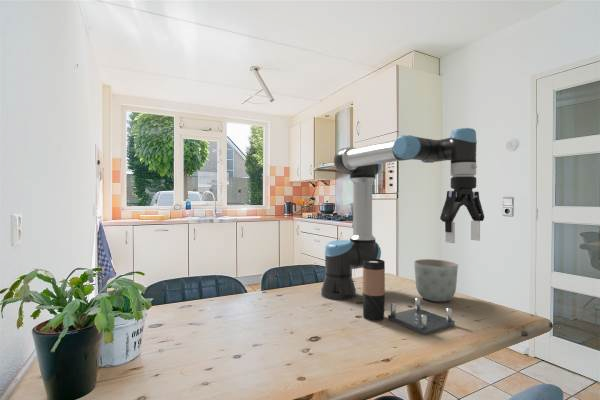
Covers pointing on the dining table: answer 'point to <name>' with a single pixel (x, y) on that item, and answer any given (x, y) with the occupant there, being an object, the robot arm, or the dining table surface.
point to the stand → (421, 319)
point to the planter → (436, 279)
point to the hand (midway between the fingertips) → (463, 241)
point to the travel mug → (373, 289)
